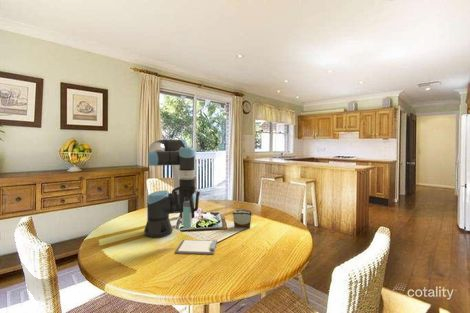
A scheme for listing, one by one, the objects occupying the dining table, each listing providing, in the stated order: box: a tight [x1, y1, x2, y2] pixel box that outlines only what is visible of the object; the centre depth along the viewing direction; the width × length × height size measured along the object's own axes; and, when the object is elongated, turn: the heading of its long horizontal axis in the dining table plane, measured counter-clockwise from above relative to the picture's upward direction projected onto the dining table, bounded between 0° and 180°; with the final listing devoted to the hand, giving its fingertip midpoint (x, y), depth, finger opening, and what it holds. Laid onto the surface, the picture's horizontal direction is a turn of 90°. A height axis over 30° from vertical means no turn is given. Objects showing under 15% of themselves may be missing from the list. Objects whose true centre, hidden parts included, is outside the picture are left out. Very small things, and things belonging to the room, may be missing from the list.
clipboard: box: [174, 239, 218, 256], centre depth 118 cm, size 18×14×2 cm
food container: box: [231, 208, 253, 229], centre depth 146 cm, size 12×6×10 cm, turn 84°
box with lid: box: [182, 201, 192, 229], centre depth 121 cm, size 3×3×13 cm
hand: (187, 224), depth 121 cm, fingers closed on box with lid, 3 cm apart
